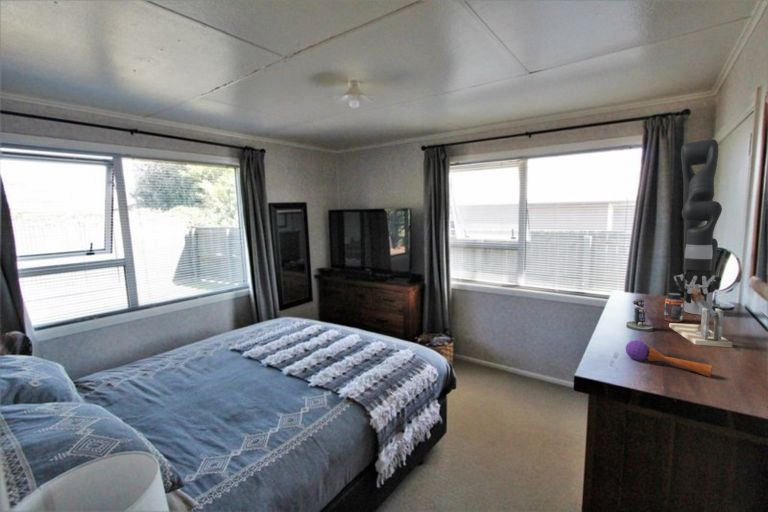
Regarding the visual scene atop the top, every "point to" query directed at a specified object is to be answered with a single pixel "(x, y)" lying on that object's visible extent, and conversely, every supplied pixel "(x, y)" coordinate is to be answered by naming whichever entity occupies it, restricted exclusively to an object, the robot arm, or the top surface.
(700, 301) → the lever
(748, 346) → the top surface
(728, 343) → the base
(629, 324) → the figurine
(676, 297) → the supplement bottle
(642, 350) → the two-tone long tapered part
